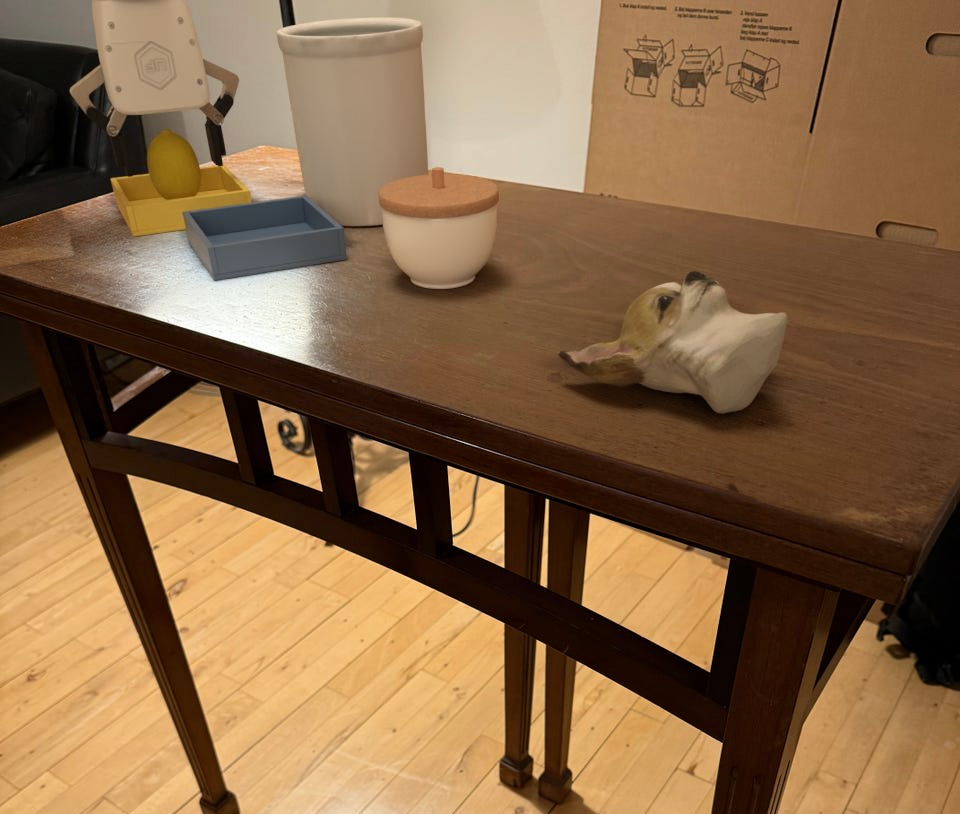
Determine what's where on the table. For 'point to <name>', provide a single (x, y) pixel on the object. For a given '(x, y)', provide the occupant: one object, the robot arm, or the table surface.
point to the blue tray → (264, 236)
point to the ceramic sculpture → (688, 345)
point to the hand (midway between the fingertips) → (174, 168)
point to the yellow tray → (174, 200)
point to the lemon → (173, 166)
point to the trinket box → (440, 226)
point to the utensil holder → (356, 110)
